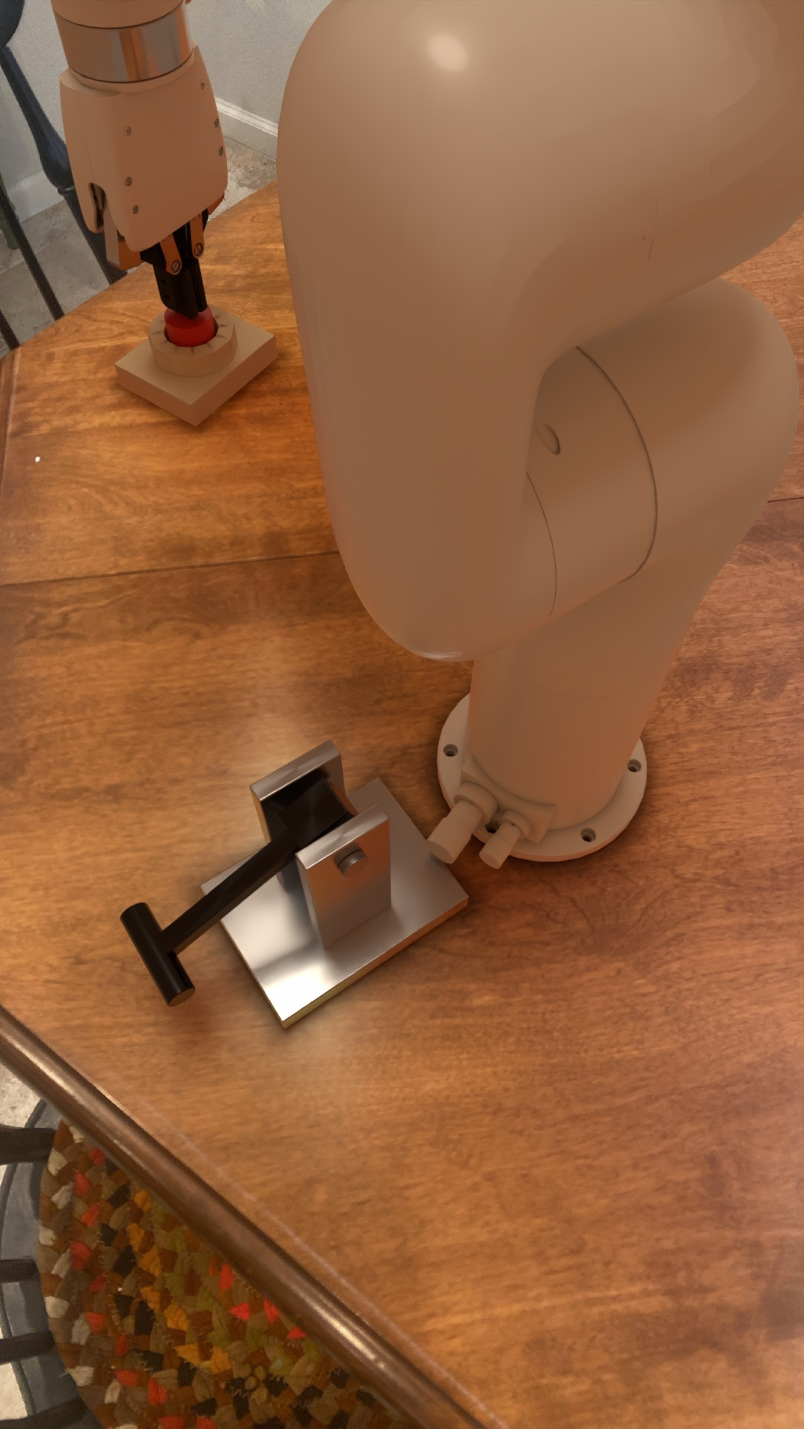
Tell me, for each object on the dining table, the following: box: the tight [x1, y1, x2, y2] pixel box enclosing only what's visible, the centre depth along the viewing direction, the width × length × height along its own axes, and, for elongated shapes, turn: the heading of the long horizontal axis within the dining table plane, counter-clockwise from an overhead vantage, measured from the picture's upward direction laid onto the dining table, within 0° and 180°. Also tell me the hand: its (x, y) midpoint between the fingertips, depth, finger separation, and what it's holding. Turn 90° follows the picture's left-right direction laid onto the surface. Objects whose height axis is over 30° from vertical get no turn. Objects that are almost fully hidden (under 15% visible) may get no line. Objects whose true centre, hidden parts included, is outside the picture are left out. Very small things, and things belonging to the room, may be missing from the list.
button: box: [164, 305, 215, 348], centre depth 73 cm, size 4×4×2 cm
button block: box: [113, 301, 279, 427], centre depth 75 cm, size 10×8×4 cm
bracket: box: [198, 738, 470, 1029], centre depth 48 cm, size 12×9×13 cm
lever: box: [119, 777, 359, 1008], centre depth 44 cm, size 12×5×2 cm, turn 124°
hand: (185, 307), depth 72 cm, fingers closed
